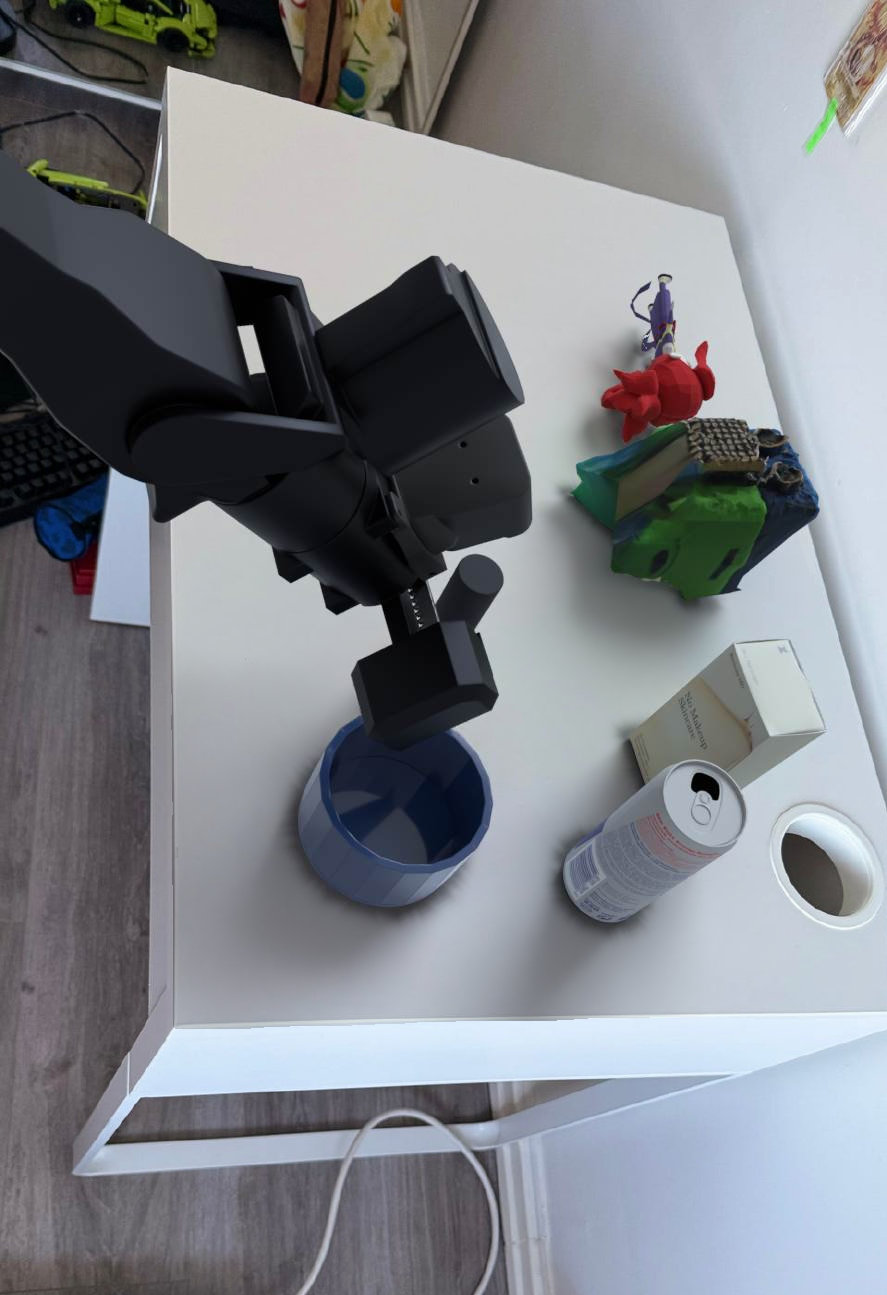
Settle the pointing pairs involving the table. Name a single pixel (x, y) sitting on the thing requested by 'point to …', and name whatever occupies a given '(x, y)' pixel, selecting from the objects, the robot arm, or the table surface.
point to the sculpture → (698, 502)
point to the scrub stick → (470, 590)
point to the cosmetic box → (735, 714)
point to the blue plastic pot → (393, 815)
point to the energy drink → (656, 840)
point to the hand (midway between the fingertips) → (455, 617)
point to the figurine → (660, 375)
